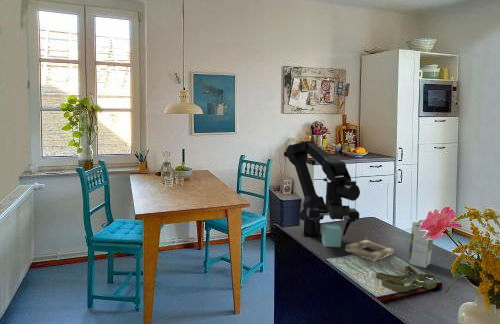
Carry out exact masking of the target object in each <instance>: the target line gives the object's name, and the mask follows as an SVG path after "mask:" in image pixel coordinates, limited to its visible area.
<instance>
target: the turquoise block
mask: <svg viewBox="0 0 500 324" xmlns="http://www.w3.org/2000/svg"><path fill="white" fill-rule="evenodd" d="M321 227H322V228H321V244H322V245H323V246H324V247H326V248H327V247H329V248H330V247H331V248H341V247H342V236H343V227H341V226H340V224H339V223H338V224H337V223H322V225H321Z"/></svg>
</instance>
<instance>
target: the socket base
mask: <svg viewBox="0 0 500 324" xmlns="http://www.w3.org/2000/svg"><path fill="white" fill-rule="evenodd" d="M365 248H368V249H371V250H374V252H370V251H369V250H365ZM344 250H345V252H348V253H350V254H353V255H354V256H355V255H356V256H358V255H360V256H363V257H365V258H368V259H370V260H372V261H373V262H375V261H374V260H376V261H378V260H377V259H379V258H382V257H384V256H387V255H391V254H392V256H394V254H395V249H394V248H392V247H388V246H385V245H383V244H380V243H377V242H375V241H372V240H370V239H369V237H367V236H364V240H360V241H357V242H356V241H355V242H352V243H350V244H349V243H348V244H345V249H344ZM360 256H359V257H360ZM363 257H362V258H363ZM365 258H364V259H365ZM368 259H367V260H368ZM382 259H383V258H382ZM370 260H369V261H370ZM379 260H380V259H379ZM372 261H371V262H372Z"/></svg>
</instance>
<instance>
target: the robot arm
mask: <svg viewBox="0 0 500 324" xmlns="http://www.w3.org/2000/svg"><path fill="white" fill-rule="evenodd" d="M285 153H286V156H287V158H288V161H289V162H290V163H291V164H292V165H293V166H294V168H295V170H296V174H297V178H298V181H299V185H300V187H301V190H302V194H303V197H304V198H303V203H302V210H301V211H300V212H299V213H298V217H299V220H301V221H302V230H301V233H302V235H303V237H321V230H322V228H321V227H322V225H321V221H322V220H324V218H325V216H329V218H330V220H332V221H333V220H340V221H341V220H342V221H343V225H342V236H343V237H345V235H346V233H347V231H348V229H349V227H350V226H351V224H352V223H353V222H356V220H360V212H359V211H358V210H357V209H356V208H351V207H350V205H343V199H345V200H349V201H351V202H354V201H357V200H358V199H359V197H360V194H361V189H360V188H359V185H357V181H355V180H352V177H351V175H350V173H349V171H348V168H347V165H346V163H345V162H344V161H343V160H341V159H338V158H336V157H332V156H330V155H329V154H328V153H327V152H326V151H325V150H323V149H322V148H321V147H320V146H318V144H316V142H315V141H314V140H303V141H300V142H298V143H294V144H288V146H287V147H286V150H285ZM308 155H309V156H310V157H311V158H312V159H313V160H315V162H317V163H318V164H319V165H320V166H321V170H322V172H323V174H324V175H326V176H325V177H324V178H322V179H323V182H326V188H325V189H326V190H325V200H324V197H323V196H319V195H318V194H317V192H316V189H315V186H314V183H313V180H312V176H311V173H310V170H309V166H308V164H307V160H308V157H309V156H308Z"/></svg>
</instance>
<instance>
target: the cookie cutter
mask: <svg viewBox="0 0 500 324" xmlns="http://www.w3.org/2000/svg"><path fill="white" fill-rule="evenodd" d="M405 271H406V272H407V273H406V272H405ZM409 271H410V272H409ZM404 272H405V273H406V274H401V275H398V274H397V275H394V274H388V273H384V272H380V271H379V272H376V274H375V279H377V280H379V279H380V280H379V281H381V287H383V286H384V287H383V288H385V287H386V289H388V288H389V289H388V290H391V289H392V290H391V291H394V290H395V291H394V292H399V291H401V293H405V292H410V291H411V290H410V289H412V288H413V286H414V285H413V284H416V285H418V286H422V287H424V288H423V289H426V290H432V289H435V288H436V287H437V283H438V279H437V277H438V276H437V275H434V274H430V273H419V272H417V270H415V269H414V268H412V267H411V265H406V266H404ZM411 272H412V273H413V274H414V275H415V276H416V277H417V278H416V277H415V276H414V275H413V274H412V273H411ZM410 273H411V274H412V275H413V276H414V277H415V278H416V279H411V282H410V284H408V285H405V284H406V281H405V280H404V279H406V278H408V279H409V276H410ZM426 277H428V278H433V280H434V281H435V282H432V283H431V282H430V283H429V282H425V280H426V279H425V278H426ZM417 279H418V280H419V281H424V282H419V281H417ZM402 280H403V281H402ZM406 280H407V279H406ZM433 280H432V281H433ZM412 285H413V286H412ZM416 285H415V286H416ZM411 287H412V288H411Z"/></svg>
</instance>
